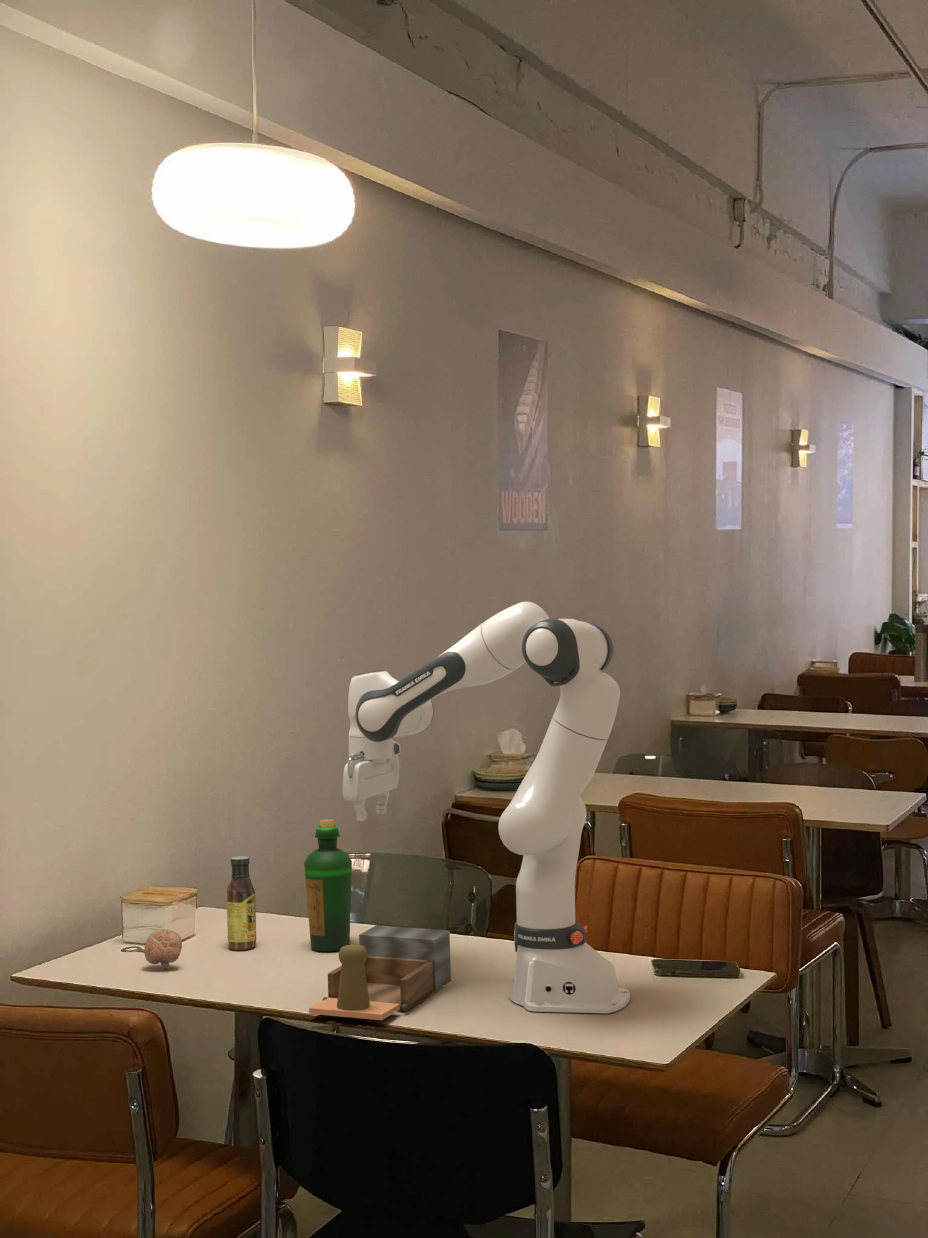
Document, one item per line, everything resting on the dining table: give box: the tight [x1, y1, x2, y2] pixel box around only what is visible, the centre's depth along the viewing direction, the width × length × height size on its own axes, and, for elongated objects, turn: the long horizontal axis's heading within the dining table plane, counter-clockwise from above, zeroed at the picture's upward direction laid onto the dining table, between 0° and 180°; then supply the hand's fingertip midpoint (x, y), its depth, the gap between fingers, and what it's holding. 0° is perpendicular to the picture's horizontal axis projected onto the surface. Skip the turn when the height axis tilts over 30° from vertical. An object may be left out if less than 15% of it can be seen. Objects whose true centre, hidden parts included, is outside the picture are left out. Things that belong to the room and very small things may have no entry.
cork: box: [337, 944, 370, 1011], centre depth 252 cm, size 6×6×11 cm
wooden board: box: [308, 998, 400, 1021], centre depth 252 cm, size 14×1×8 cm
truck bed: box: [322, 925, 452, 1014], centre depth 267 cm, size 17×24×10 cm
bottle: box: [304, 818, 353, 953], centre depth 303 cm, size 11×11×28 cm
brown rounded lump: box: [143, 928, 183, 970], centre depth 289 cm, size 8×6×8 cm
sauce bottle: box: [226, 855, 257, 951], centre depth 305 cm, size 7×6×20 cm
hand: (371, 817), depth 284 cm, fingers open, 8 cm apart
